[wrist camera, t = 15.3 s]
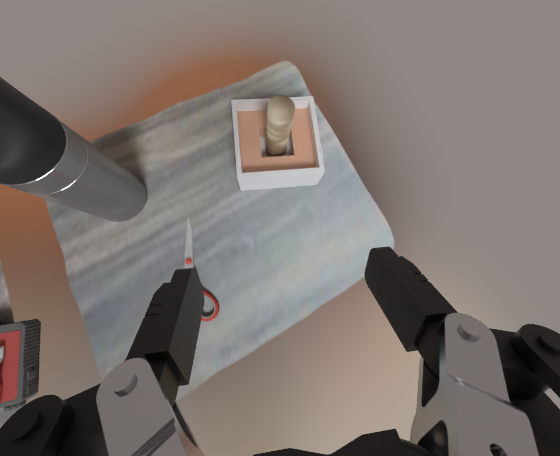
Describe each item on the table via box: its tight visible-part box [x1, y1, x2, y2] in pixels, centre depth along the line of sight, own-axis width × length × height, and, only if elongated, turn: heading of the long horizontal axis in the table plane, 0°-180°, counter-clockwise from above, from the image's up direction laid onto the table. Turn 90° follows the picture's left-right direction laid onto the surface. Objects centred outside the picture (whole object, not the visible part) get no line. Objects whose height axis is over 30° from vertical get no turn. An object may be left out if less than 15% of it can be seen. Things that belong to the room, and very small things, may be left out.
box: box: [231, 96, 325, 191], centre depth 42 cm, size 15×15×6 cm
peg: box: [266, 95, 295, 157], centre depth 38 cm, size 4×4×12 cm
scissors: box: [184, 219, 219, 321], centre depth 39 cm, size 8×21×2 cm, turn 19°
